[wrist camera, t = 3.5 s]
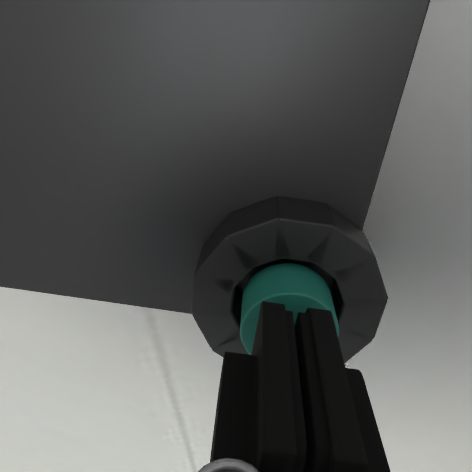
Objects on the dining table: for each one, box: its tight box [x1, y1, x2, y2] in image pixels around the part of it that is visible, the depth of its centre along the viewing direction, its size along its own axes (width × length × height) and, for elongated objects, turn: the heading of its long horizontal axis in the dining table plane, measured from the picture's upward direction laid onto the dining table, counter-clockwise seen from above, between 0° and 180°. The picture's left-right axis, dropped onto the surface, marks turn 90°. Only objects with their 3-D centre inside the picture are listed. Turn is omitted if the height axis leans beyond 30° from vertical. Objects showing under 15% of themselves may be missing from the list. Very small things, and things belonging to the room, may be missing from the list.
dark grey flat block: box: [0, 0, 430, 363], centre depth 12 cm, size 15×13×4 cm
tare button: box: [240, 263, 339, 355], centre depth 12 cm, size 3×3×2 cm
